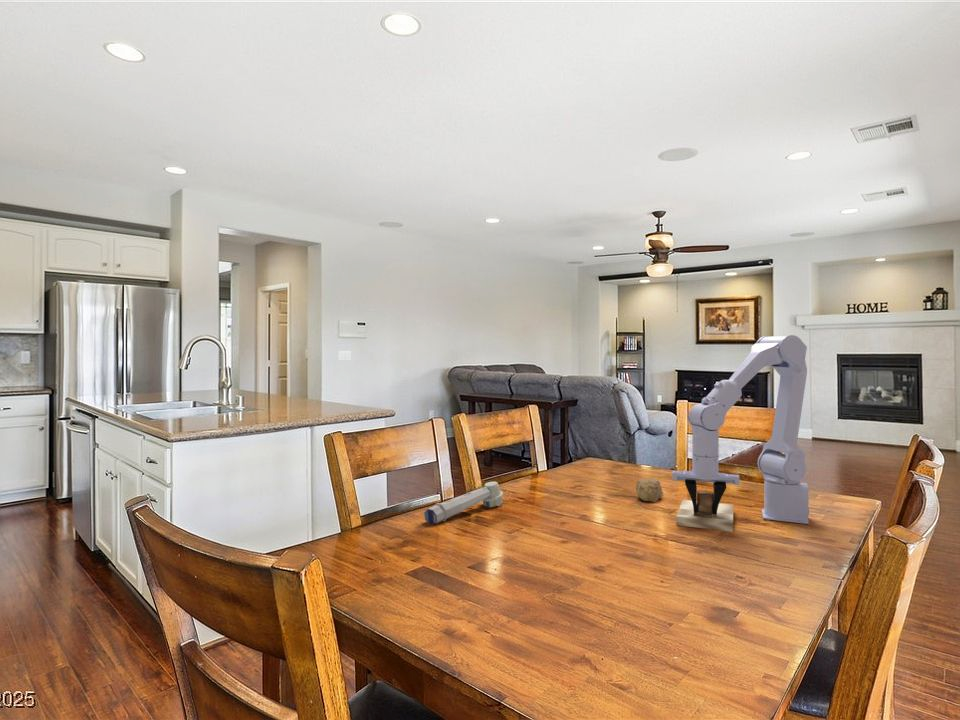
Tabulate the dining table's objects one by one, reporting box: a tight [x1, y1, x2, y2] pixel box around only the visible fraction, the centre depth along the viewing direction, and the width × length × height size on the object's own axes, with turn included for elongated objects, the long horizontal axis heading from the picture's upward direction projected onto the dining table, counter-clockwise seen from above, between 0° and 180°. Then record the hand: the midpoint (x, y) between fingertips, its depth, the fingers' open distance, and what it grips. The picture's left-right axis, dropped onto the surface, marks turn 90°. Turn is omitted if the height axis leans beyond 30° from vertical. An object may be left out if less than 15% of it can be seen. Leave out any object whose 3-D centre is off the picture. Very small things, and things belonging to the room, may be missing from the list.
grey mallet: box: [423, 481, 504, 526], centre depth 140 cm, size 5×7×25 cm
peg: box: [696, 491, 714, 518], centre depth 131 cm, size 4×4×6 cm
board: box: [675, 499, 734, 533], centre depth 134 cm, size 12×16×2 cm
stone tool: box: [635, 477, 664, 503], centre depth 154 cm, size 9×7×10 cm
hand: (705, 512), depth 131 cm, fingers closed on peg, 3 cm apart
